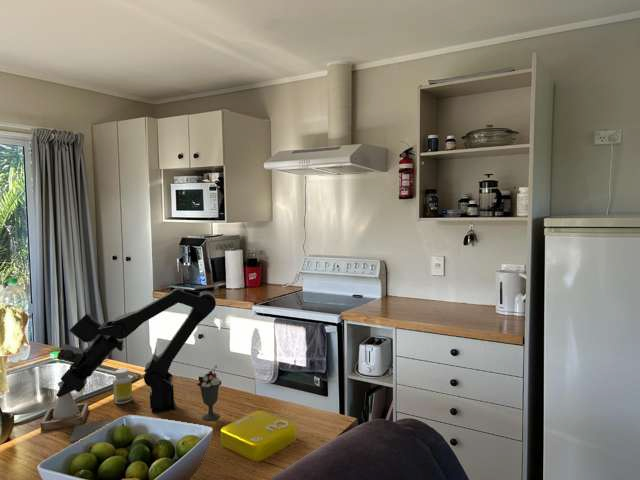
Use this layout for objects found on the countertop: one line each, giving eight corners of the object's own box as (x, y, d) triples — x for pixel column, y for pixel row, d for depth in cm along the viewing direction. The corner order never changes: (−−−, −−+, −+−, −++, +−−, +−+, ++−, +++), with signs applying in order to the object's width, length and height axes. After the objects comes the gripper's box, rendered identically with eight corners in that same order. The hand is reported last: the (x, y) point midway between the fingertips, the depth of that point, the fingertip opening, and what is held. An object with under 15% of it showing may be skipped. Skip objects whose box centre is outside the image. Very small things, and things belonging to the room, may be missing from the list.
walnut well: (88, 408, 145) (88, 402, 145) (83, 424, 135) (82, 417, 135) (49, 414, 142) (48, 408, 142) (40, 430, 132) (40, 423, 131)
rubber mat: (110, 421, 136) (110, 420, 136) (107, 436, 128) (107, 434, 128) (75, 427, 133) (75, 425, 133) (69, 442, 125) (69, 440, 125)
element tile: (260, 423, 134) (259, 407, 134) (299, 439, 125) (299, 421, 124) (217, 445, 123) (216, 427, 122) (257, 464, 113) (257, 445, 113)
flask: (73, 407, 143) (71, 375, 143) (84, 414, 139) (82, 381, 138) (48, 416, 138) (45, 383, 137) (58, 423, 133) (55, 389, 132)
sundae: (227, 416, 138) (225, 366, 137) (207, 424, 133) (205, 372, 132) (214, 409, 143) (212, 361, 141) (194, 417, 138) (192, 367, 136)
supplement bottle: (136, 399, 152) (134, 369, 151) (121, 405, 147) (119, 374, 146) (125, 395, 154) (123, 366, 154) (110, 402, 150) (108, 371, 149)
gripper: (82, 327, 146) (45, 366, 144) (66, 344, 128) (24, 389, 126) (111, 349, 149) (75, 388, 147) (100, 369, 131) (59, 414, 129)
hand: (59, 394), depth 137 cm, fingers closed on flask, 3 cm apart
